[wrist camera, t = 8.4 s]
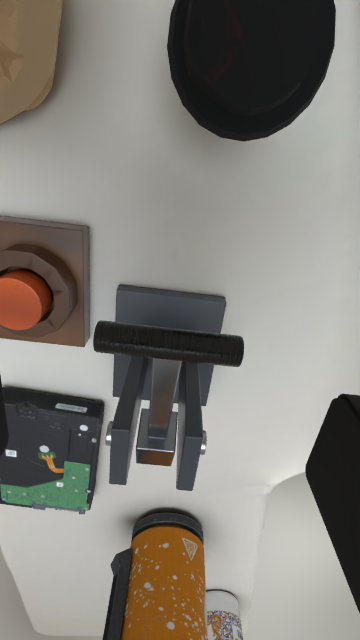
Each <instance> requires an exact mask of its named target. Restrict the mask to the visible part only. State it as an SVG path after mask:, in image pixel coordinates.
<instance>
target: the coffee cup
mask: <svg viewBox="0 0 360 640" xmlns="http://www.w3.org/2000/svg"><path fill="white" fill-rule="evenodd" d="M335 15H336V9H335V4H334V0H176V1H175V3H174V6H173V9H172V11H171V16H170V25H169V34H168V44H167V50H168V57H169V64H170V71H171V78H172V81H173V83H174V85H175V88H176V90H177V92H178V95H179V97H180V99H181V102H182V104H183V106H184V107H185V108H186V109H187V110H188V112H189V113H190V114H191V115H192V116H193V118H194V119H195V120H196V121H197V122H198V124H199V125H201V126H202V127H204V128H206V129H207V130H209V131H211V132H212V133H214V134H216V135H217V136H219V137H221V138H227V139H233V140H238V141H249V140H254V139H260V138H265V137H268V136H270V135H272V134H274V133H276V132H277V131H279V130H281V129H283V128H285V127H286V126H288V125H290V124H291V123H292V122H293V121H294V120H295V119H296V118H297V117H298V116H299V115H300V114H301V113H302V112H303V111H304V110H305V109H306V108H307V107H308V106H309V105H310V103H311V101H312V100H313V98H314V96H315V94H316V93H317V91H318V89H319V87H320V86H321V84H322V82H323V80H324V79H325V76H326V73H327V69H328V66H329V63H330V59H331V56H332V52H333V49H334V41H335Z"/></svg>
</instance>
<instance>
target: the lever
mask: <svg viewBox="0 0 360 640" xmlns="http://www.w3.org/2000/svg"><path fill="white" fill-rule="evenodd" d="M93 346H94V350H95V351H96V352H101V353H110V354H120V355H129V356H138V357H147V358H153V367H152V381H151V395H150V409H143V408H142V410H141V417H140V424H139V431H138V438H137V445H136V463H141V464H151V465H162V466H171V464H172V461H173V457H174V454H175V446H176V431H177V416H178V412H173V411H172V408H173V403H174V398H175V393H176V388H177V383H178V378H179V372H180V367H181V362H182V361H184V362H194V363H203V364H212V365H222V366H231V367H239V366H240V365H241V363H242V360H243V355H244V341H243V338H242V337H241V336H236V335H227V334H219V333H210V332H201V331H192V330H183V329H174V328H165V327H156V326H147V325H138V324H129V323H120V322H111V321H102V320H101V321H98V323H97V325H96V328H95V332H94V339H93Z"/></svg>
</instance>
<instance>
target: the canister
mask: <svg viewBox="0 0 360 640" xmlns="http://www.w3.org/2000/svg"><path fill="white" fill-rule="evenodd" d="M111 568H112V572H113V575H114V577H113V583H112V589H111V595H110V600H109V606H108V612H107V618H106V624H105V629H104V635H103V640H208V627H207V607H206V586H205V565H204V547H203V531H202V529H201V527H200V526H199V524H198V523H197V522H195V521H194V520H193V519H191V518H189V517H187V516H184V515H181V514H176V513H157V514H152V515H149V516H147V517H145V518H143V519H141V520H140V521H139V522H138V523H137V524H136V525H135V526H134V529H133V534H132V541H131V548H129V549H127V550H125V551H122V552H120V553H118V554H116V556H115V557H114V559H113V561H112V563H111Z"/></svg>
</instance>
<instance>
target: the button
mask: <svg viewBox="0 0 360 640" xmlns="http://www.w3.org/2000/svg"><path fill="white" fill-rule="evenodd" d="M51 302H52V297H51V292H50V289H49V287H48V286H47V284H46V283H45V282H44V280H43V279H42V278H40V277H39V276H38V275H36V274H34V273H32V272H30V271H27V270H19V269H18V270H12V271H9V272H7V273H5V274H4V275H2V276H1V277H0V324H1V325H2V326H4V327H7V328H10V329H14V330H25V329H29V328H31V327H33V326H34V325H36V324H37V323H38V322H39V321H40V319H41V318H42V317H43V316H44V315H45V314H46V313H47V312H48V310H49V309H50V306H51Z"/></svg>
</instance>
